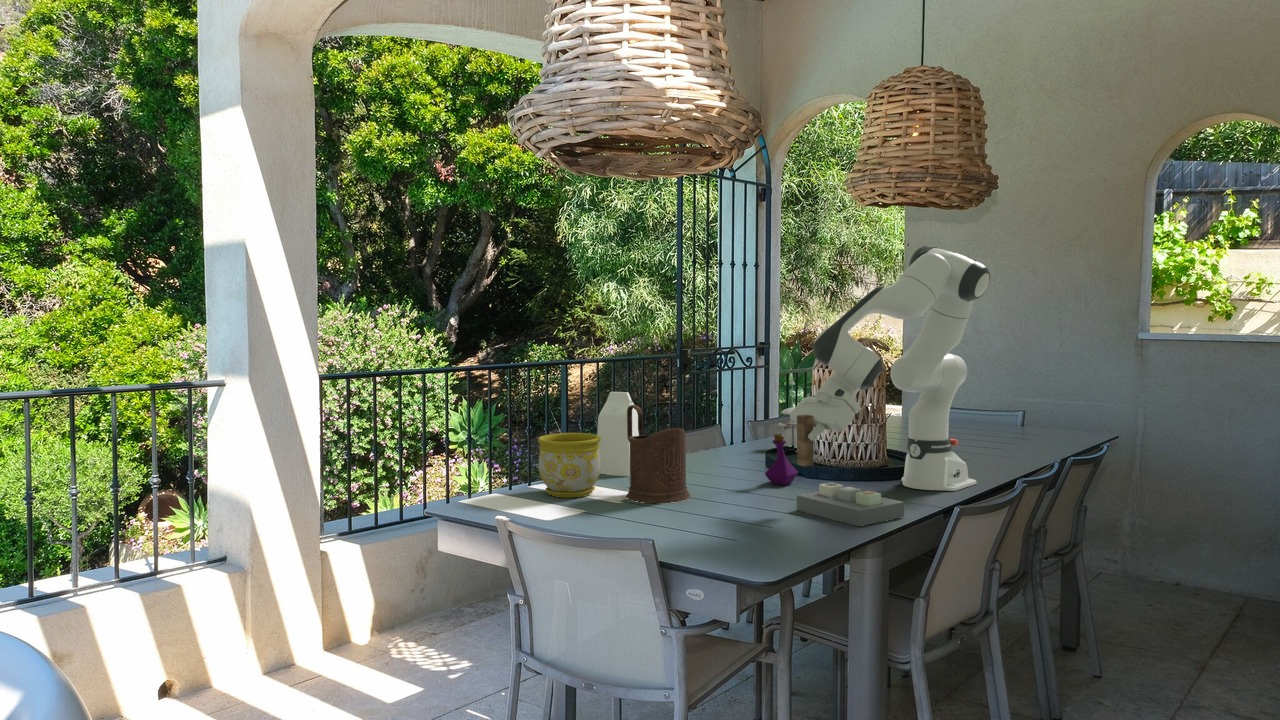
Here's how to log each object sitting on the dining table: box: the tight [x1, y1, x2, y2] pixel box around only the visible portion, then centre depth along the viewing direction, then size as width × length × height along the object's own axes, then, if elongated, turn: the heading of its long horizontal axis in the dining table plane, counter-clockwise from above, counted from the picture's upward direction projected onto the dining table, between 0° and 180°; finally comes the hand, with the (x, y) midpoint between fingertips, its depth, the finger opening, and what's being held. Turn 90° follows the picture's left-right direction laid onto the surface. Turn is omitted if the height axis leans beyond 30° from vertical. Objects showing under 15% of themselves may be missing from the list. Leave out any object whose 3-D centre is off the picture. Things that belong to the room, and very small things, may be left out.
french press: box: [780, 381, 797, 448], centre depth 337 cm, size 10×12×25 cm
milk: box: [596, 391, 639, 477], centre depth 297 cm, size 12×12×26 cm
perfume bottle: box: [764, 423, 799, 486], centre depth 275 cm, size 8×8×18 cm
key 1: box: [818, 482, 844, 497], centre depth 242 cm, size 4×4×4 cm
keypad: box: [796, 490, 905, 527], centre depth 237 cm, size 16×22×4 cm
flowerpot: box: [537, 432, 601, 499], centre depth 265 cm, size 18×18×16 cm
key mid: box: [837, 486, 863, 502], centre depth 237 cm, size 4×4×4 cm
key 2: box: [856, 490, 882, 506], centre depth 231 cm, size 4×4×4 cm
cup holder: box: [625, 404, 691, 504], centre depth 262 cm, size 18×24×25 cm
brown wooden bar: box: [796, 415, 814, 467], centre depth 240 cm, size 3×3×13 cm
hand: (803, 437), depth 240 cm, fingers closed on brown wooden bar, 3 cm apart
